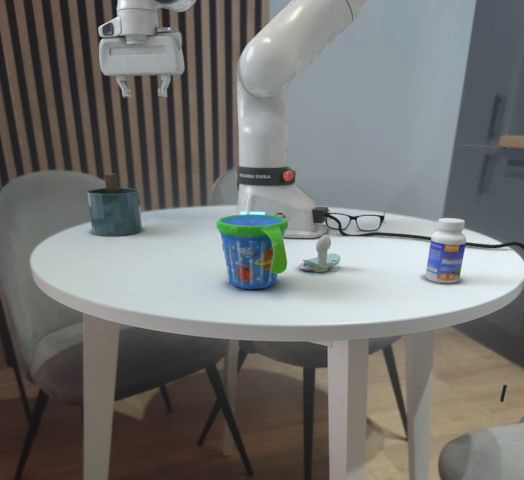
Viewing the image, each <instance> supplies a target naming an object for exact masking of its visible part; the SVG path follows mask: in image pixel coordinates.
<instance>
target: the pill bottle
mask: <svg viewBox="0 0 524 480" xmlns="http://www.w3.org/2000/svg"><path fill="white" fill-rule="evenodd" d="M465 224H466V221H465V220H464V219H461V218H453V217H441V218H438V221H437V229H438V230H437V231H435V232H434V233H432V235H431V236H430V237H431V241H430V243H429V251H428V256H427V261H426V271H425V278H426V279H427V280H428V281H431V282H434V283H439V284H453V283H458V282H459V280H460V278H461V273H462V266H463V262H464V261H463V260H464V256H465V251H466V246H465V245H466V242H467V236H466V235H465V234H464V233H463V232H462V231H464V229H465V226H466V225H465Z"/></svg>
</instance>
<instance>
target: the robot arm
mask: <svg viewBox="0 0 524 480" xmlns="http://www.w3.org/2000/svg"><path fill="white" fill-rule="evenodd" d="M372 1H373V0H291V1H290V2H289V3H288V4H287V5H286V6H284V7H283V8H282V9H281V10H280V11H279V13H277V14H276V15H275V16H274V17H273V18H272V19H271V20H270V21H269V22H268V23H267V24H266V25H265V26H264V27H263V28H262V29H261V30H260V31H259V32H258V33H257V34H256V35H255V36H254V37H253V38H251V40H250V41H249V42H248V43H247V44H246V46H245V47H244V48H243V50H242V52H241V54H240V56H239V57H238V61H237V63H236V96H237V97H236V98H237V101H236V102H237V103H236V104H237V123H238V124H237V125H238V165H237V167H236V189H237V192H238V193H237V204H236V212H235V215H243V214H262V215H273V216H279V217H283V218H285V219H286V220H287V222H288V227H287V229H286V231H285V233H284V235H283V238H288V239H289V238H290V239H315V238H320V237H322V236H323V235H326V233H328V227H327V225H326V222H325V221H327V222H328V219H329V218H330V219H329V220H333V221H334V222H335V223H336V224H337V225H338V227H337V228H338V229H339V230H338V232H339V234H340V235H342V236H343V237H373V236H374V237H375V236H376V237H379V236H380V237H393V238H407V239H414V240H415V239H417V240H424V241H430V242H431V237H432V236H426V235H419V234H408V233H397V232H383V231H381V232H380V231H370V232H364V233H359V234H350V233H347V232H345V231H344V230H342V229H343V227H342V221H340V220H339V218H337V217H336V216H334V215H333V214H330V215H329V214H328V213H329V211H328V209H329V206H317V204H316V202H315V201H314V200H313V199H312V198H311V197H309V196H308V195H307V194H306V193H305V192H304V191H303V190H302V189H300V187H299V186H297V185H296V184H295V183H296V176H297V174H296V173H297V169H292V168H291V167H289V166H288V155H289V154H288V153H289V152H288V151H289V150H288V149H289V124H288V112H287V89H288V87H289V86H291V84H293V82H294V81H296V79H297V78H298V77H300V76H301V74H302V73H303V72H304V71H305V70H306V69H307V68H308V67H309V66H310V65H311V64H312V63H313V62H314V61H315V60H316V59H317V58H318V56H319V55H320V54H321V53H322V52H323V51H324V50H325V49H326V48H327V47H328V46H329V45H330V44H331V43H333V42H334V41H335V40H336V39H337V38H338V36H340V35H341V34H342V33H343V32H344V31H345V30H346V29H347V28H348V27H349V26H350V25H352V23H353V22H354V21H355V20H356V19H357V18H358V17H359V16H360V15H361V14H362V13H363V12H364V11H365V9H366V8H367V7H368V6H369V4H370V3H371V2H372ZM196 3H197V0H117V5H116V17H114V18H113V19H111V20H109V21H107V22H105V23H103V24H101V25H100V26H98V35H99V37H100V38H101V40H100V41H99V43H98V58H99V68H100V71H101V72H102V74H103V75H104V76H106V77H115V81H116V83H117V85H118V87H119V88H120V89H121V96H122V98H123V99H125V98H126V99H127V98H128V99H129V98H132V97H133V96H132V89H131V88H128V86H127V85H126V83H125V82H127V77H139V76H142V77H143V76H160V80H161V81H162V83H161V86H160V88H157V96H158V98H168V90H167V89H168V88H169V86H170V83H171V82H172V80H171V76H177V75H178V76H182V75H183V74H184V73H185V67H186V66H185V60H184V58H185V57H184V52H183V49H182V48H183V36H182V33H181V31H180V30H179V29H177V28H176V27H175V26H168V27H167V26H164V27H163V26H161V27H159V15H158V14H159V12H158V10H159V9H164V10H167V11H171V12H174V13H182V12H186V11H189V10H191V8H193V6H195V4H196ZM511 246H517V247H520V248H521V249H522V250H524V243H522V242H519V241H509V242H505V243H504V242H503V243H499V244H490V243H489V244H488V243H477V242H469V241H466V245H465V247H473V248H481V249H482V248H483V249H503V248H507V247H511ZM507 387H508V384H503V386H502V389H501V395H500V399H499V402H500V403H504V401H505V396H506V392H507Z"/></svg>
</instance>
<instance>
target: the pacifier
mask: <svg viewBox="0 0 524 480" xmlns="http://www.w3.org/2000/svg"><path fill="white" fill-rule="evenodd" d="M330 237H331V236H329V235H328V234H324V235H322V236H320V237H319V238H318V240H317V242H316V244H315V245H316V246H315V250H316V252H317V257H313V258H309V259H302V262H301V263H299V265H298V268H299V269H300V270H304V271H312V272H316V273H323V272H324V273H325V272H327V271H329V270H330V268H333V267H335V266H337V265H338V264H339V263H340V262H341V256H340V254H337V253H328V250H329V249H330V248H331V245H332V239H331V238H330Z"/></svg>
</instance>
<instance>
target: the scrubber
mask: <svg viewBox="0 0 524 480" xmlns="http://www.w3.org/2000/svg"><path fill="white" fill-rule="evenodd" d="M104 182H105V188H106V192H107V194H119V190H118V188H119V184H118V183H119V182H118V174H117V173H105V174H104Z"/></svg>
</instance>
